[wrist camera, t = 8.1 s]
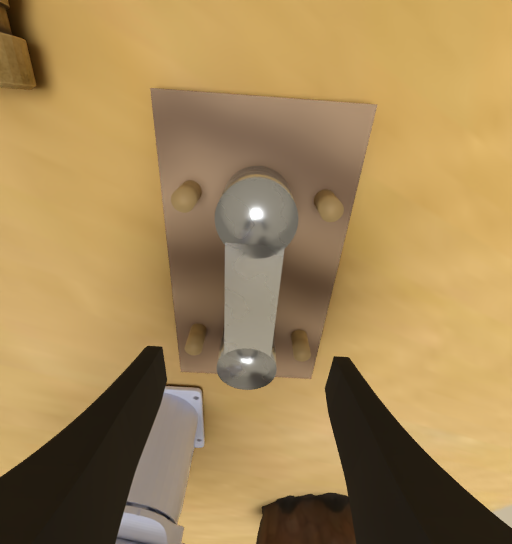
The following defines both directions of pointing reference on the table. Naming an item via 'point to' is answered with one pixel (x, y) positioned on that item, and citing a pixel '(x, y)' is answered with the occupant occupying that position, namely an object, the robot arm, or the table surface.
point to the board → (210, 185)
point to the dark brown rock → (307, 520)
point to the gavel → (13, 56)
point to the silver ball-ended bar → (252, 272)
